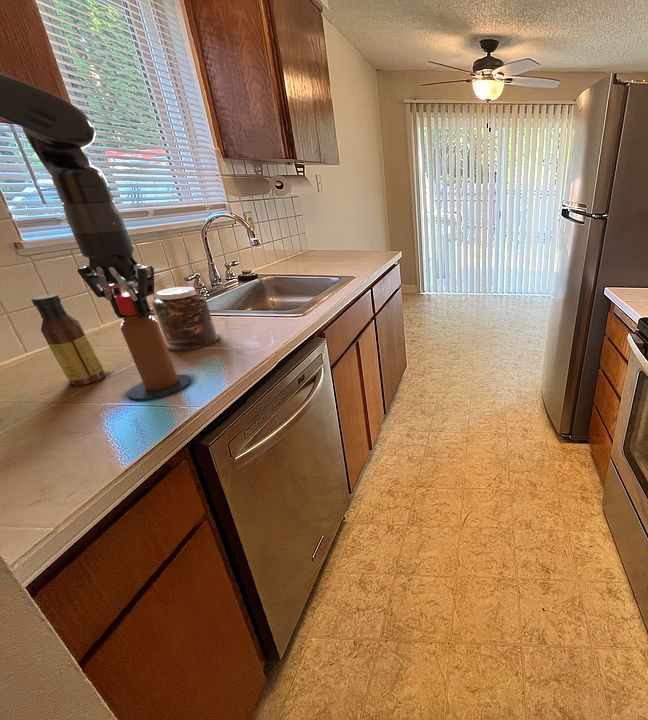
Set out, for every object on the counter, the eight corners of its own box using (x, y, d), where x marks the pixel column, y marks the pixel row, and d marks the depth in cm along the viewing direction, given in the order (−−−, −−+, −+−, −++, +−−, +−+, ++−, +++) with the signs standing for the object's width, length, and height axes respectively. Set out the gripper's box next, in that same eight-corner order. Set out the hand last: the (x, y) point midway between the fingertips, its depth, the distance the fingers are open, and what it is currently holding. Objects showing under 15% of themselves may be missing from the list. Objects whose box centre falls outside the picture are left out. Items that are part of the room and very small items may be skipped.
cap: (151, 308, 82) (145, 291, 81) (135, 315, 79) (128, 297, 77) (133, 308, 82) (126, 291, 81) (115, 314, 79) (108, 297, 77)
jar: (217, 332, 119) (201, 282, 112) (218, 344, 110) (202, 291, 103) (168, 341, 113) (149, 289, 107) (166, 354, 104) (145, 298, 98)
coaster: (115, 400, 82) (113, 398, 82) (157, 376, 92) (156, 374, 92) (165, 401, 82) (164, 399, 81) (202, 377, 92) (201, 375, 91)
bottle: (140, 392, 84) (102, 303, 76) (152, 379, 89) (117, 294, 81) (173, 387, 86) (139, 300, 77) (182, 375, 91) (152, 292, 83)
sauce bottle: (102, 371, 95) (64, 290, 87) (110, 378, 92) (72, 294, 83) (65, 382, 90) (22, 297, 82) (72, 390, 87) (28, 301, 78)
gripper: (152, 225, 76) (181, 311, 84) (82, 226, 77) (118, 310, 85) (117, 231, 70) (153, 323, 77) (42, 231, 70) (84, 323, 78)
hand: (134, 316), depth 81 cm, fingers closed on cap, 3 cm apart
